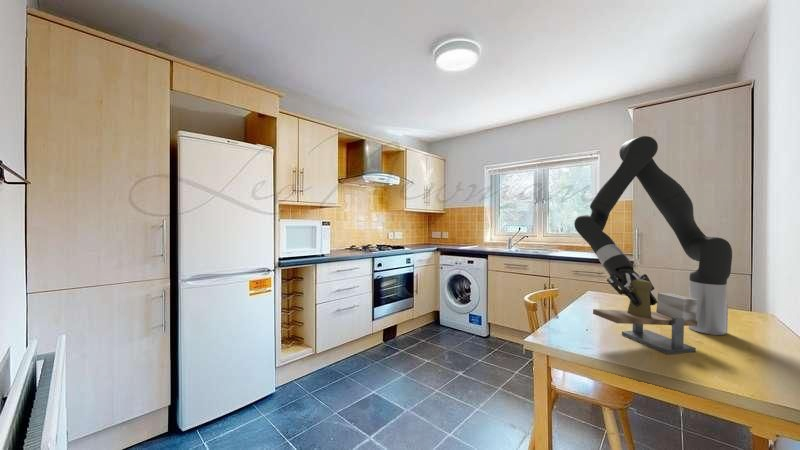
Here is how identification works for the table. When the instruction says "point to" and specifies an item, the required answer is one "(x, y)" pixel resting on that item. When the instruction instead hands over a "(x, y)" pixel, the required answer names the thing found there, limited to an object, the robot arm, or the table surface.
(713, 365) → the table surface
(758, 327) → the table surface
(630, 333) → the beam stand
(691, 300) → the balance beam
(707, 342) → the table surface
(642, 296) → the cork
